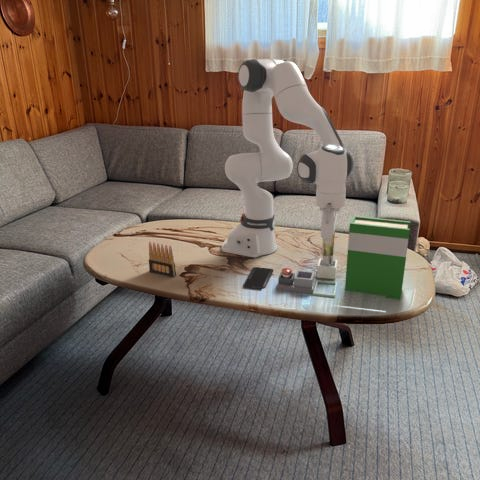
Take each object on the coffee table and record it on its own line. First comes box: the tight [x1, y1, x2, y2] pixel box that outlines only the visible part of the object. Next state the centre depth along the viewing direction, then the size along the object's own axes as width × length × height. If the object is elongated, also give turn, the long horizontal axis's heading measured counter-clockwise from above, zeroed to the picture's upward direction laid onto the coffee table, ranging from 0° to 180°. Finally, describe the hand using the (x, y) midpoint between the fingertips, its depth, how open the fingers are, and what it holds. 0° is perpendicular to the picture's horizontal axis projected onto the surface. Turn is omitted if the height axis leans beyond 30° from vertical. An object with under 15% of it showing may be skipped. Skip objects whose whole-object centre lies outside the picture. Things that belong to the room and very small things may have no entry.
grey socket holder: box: [276, 269, 317, 295], centre depth 155 cm, size 12×8×5 cm, turn 74°
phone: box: [242, 266, 274, 291], centre depth 162 cm, size 8×1×15 cm
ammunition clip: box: [148, 241, 177, 278], centre depth 165 cm, size 11×2×12 cm, turn 63°
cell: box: [321, 230, 336, 257], centre depth 146 cm, size 4×4×9 cm
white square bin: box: [316, 257, 338, 280], centre depth 162 cm, size 6×6×5 cm
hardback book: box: [344, 215, 412, 301], centre depth 148 cm, size 18×7×24 cm, turn 69°
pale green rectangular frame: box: [312, 279, 338, 298], centre depth 153 cm, size 7×9×1 cm
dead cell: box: [322, 255, 334, 267], centre depth 161 cm, size 4×4×9 cm
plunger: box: [281, 267, 293, 279], centre depth 155 cm, size 3×3×3 cm
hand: (328, 240), depth 146 cm, fingers closed on cell, 4 cm apart
